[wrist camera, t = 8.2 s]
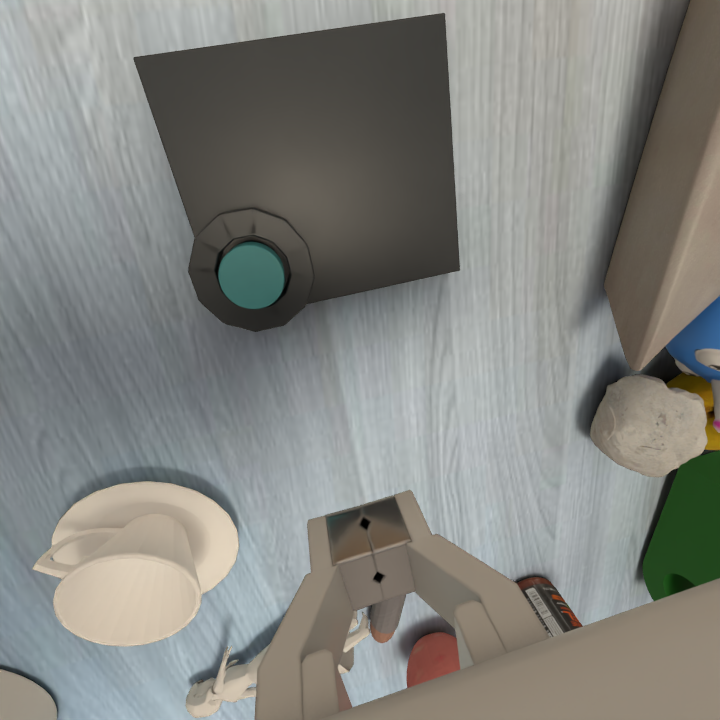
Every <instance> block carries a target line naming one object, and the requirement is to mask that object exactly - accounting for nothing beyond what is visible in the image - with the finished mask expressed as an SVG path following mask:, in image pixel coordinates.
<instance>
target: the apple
mask: <svg viewBox="0 0 720 720" xmlns="http://www.w3.org/2000/svg"><path fill="white" fill-rule="evenodd" d="M457 670H460V662H459V654H458V646H457V638H455V637H454V636H452V635H450V634H447V633H443V632H437V633H431V634H428V635H425V636H423V637H422V638H420V639H419V640H418V641H417V642H416V644H415V645H414V647H413V649H412V651H411V654H410V657H409V661H408V667H407V688H409V687H412V686H415V685H418V684H421V683H423V682H426V681H429V680H432V679H435V678H438V677H440V676H443V675H446V674H449V673H452V672H455V671H457Z"/></svg>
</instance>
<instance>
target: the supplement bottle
mask: <svg viewBox="0 0 720 720" xmlns="http://www.w3.org/2000/svg"><path fill="white" fill-rule="evenodd" d="M517 585H518V586H519V588H520V590H521V591H522V593H523V594H524V596H525V598H526V599H527V601H528V603H529V604H530V606H531V607H532V609H533V611H534V612H535V614H536V615H537V617H538V619H539V620H540V622H541V623H542V625H543V627H544V628H545V630H546V632H547V633H548V635H549V636H550V638H551V637H554V636H557V635H560V634H563V633H565V632H568V631H571V630H574V629H577V628H580V627H582V625H581V623H580V622H579V621H578V619H577V618H576V616H575V615H574V613H573V612H572V610H571V609H570V608H569V606H568V605H567V604H566V602H565V601H564V599H563V598H562V596H561V595H560V594H559V592H558V591H557V589H556V588H555V587H554V586H553V584H552V583H551V582H550V581H549V580H547V579H545V578H540V577H532V578H527V579H524V580H522V581H519V582H518V583H517Z"/></svg>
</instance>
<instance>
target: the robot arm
mask: <svg viewBox="0 0 720 720" xmlns="http://www.w3.org/2000/svg"><path fill="white" fill-rule="evenodd" d="M307 529H308V541H309V553H310V565H311V573H309V574H306V575H305V577H304V579H303V581H302V583H301V585H300V587H299V589H298V591H297V593H296V595H295V597H294V599H293V600H292V602H291V604H290V606H289V608H288V610H287V612H286V614H285V616H284V618H283V620H282V622H281V624H280V626H279V628H278V630H277V632H276V634H275V636H274V637H273V639H272V641H271V643H270V645H269V647H268V649H267V651H266V653H265V655H264V657H263V659H262V661H261V663H260V665H259V667H258V669H257V683H256V702H255V720H720V578H719V579H716V580H713V581H710V582H707V583H704V584H702V585H699V586H696V587H693V588H690V589H687V590H685V591H682V592H679V593H676V594H673V595H670V596H668V597H665V598H662V599H659V600H656V601H653V602H651V603H648V604H645V605H642V606H639V607H636V608H634V609H631V610H628V611H625V612H622V613H619V614H617V615H614V616H611V617H608V618H605V619H602V620H600V621H597V622H594V623H591V624H588V625H585V626H582V627H580V628H577V629H574V630H571V631H568V632H565V633H563V634H560V635H557V636H554V637H551V638H550V636H549V635H548V633H547V632H546V630H545V628H544V627H543V625H542V623H541V622H540V620H539V619H538V617H537V615H536V614H535V612H534V611H533V609H532V607H531V606H530V604H529V603H528V601H527V599H526V598H525V596H524V594H523V593H522V591H521V590H520V588H519V586H518V585H517V583H515V582H513V581H512V580H510V579H509V578H507V577H505V576H504V575H502V574H501V573H499V572H497V571H496V570H494V569H493V568H491V567H490V566H488V565H486V564H485V563H483V562H482V561H480V560H478V559H477V558H475V557H474V556H472V555H470V554H469V553H467V552H466V551H464V550H462V549H461V548H459V547H458V546H456V545H455V544H453V543H451V542H450V541H448V540H447V539H445V538H443V537H442V536H440V535H439V534H435V535H432V534H431V531H430V529H429V527H428V525H427V523H426V521H425V518H424V516H423V514H422V512H421V510H420V507H419V505H418V503H417V501H416V499H415V497H414V494H413V492H412V491H411V490H408V491H405V492H402V493H398V494H395V495H394V496H393V495H392V496H389V497H385V498H382V499H379V500H376V501H372V502H369V503H366V504H363V505H360V506H357V507H353V508H349V509H346V510H342V511H338V512H334V513H331V514H327V515H325V516H321V517H317V518H313V519H310V520H308V523H307ZM415 591H416V594H418V595H419V596H420V597H421V598H422V599H423V600H424V601H425V602H426V603H427V604H428V605H429V606H430V607H431V608H433V609H434V610H435V611H436V612H437V613H438V614H439V615H440V616H441V617H442V618H443V619H444V620H445V621H447V622H448V623H449V624H450V625H451V626H452V627H453V628H454V629H455V630H456V638H457V646H458V654H459V662H460V670H457V671H455V672H452V673H449V674H446V675H443V676H440V677H438V678H435V679H432V680H429V681H426V682H423V683H421V684H418V685H415V686H412V687H409V688H406V689H404V690H401V691H398V692H395V693H392V694H389V695H387V696H384V697H381V698H378V699H375V700H373V701H370V702H367V703H364V704H361V705H358V706H356V707H353V708H352V705H351V702H350V700H349V697H348V694H347V692H346V689H345V686H344V683H343V681H342V678H341V675H340V673H339V670H338V666H339V662H340V659H341V656H342V652H343V649H344V645H345V642H346V639H347V635H348V632H349V629H350V625H351V622H352V618H353V615H354V612H353V611H356V610H359V609H362V608H364V607H367V606H370V605H373V604H376V603H378V602H381V601H384V600H387V599H391V598H394V597H398V596H401V595H404V594H408V593H411V592H415ZM56 719H57V708H56V705H55V702H54V700H53V699H52V697H51V696H50V695H49V694H48V693H47V692H46V691H45V690H44V689H43V688H42V687H40V686H39V685H38V684H36V683H34V682H33V681H31V680H29V679H27V678H25V677H23V676H20V675H18V674H15V673H12V672H9V671H5V670H1V669H0V720H56Z"/></svg>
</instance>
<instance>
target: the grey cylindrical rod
mask: <svg viewBox="0 0 720 720" xmlns="http://www.w3.org/2000/svg"><path fill="white" fill-rule="evenodd" d="M405 597H406V594H404V595H401V596H398V597H394V598H391V599H387V600H384V601H381V602H378V603H376V604H373V605H372V609H371V614H370V630H371V633H372V636H373V638H374V639H375V640H376V641H377V642H380V643H384V642H387V641H388V640H389V639H391V637H392V636H393V634H394V632H395V630H396V628H397V626H398V623H399V620H400V616H401V612H402V608H403V605H404V601H405Z"/></svg>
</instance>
